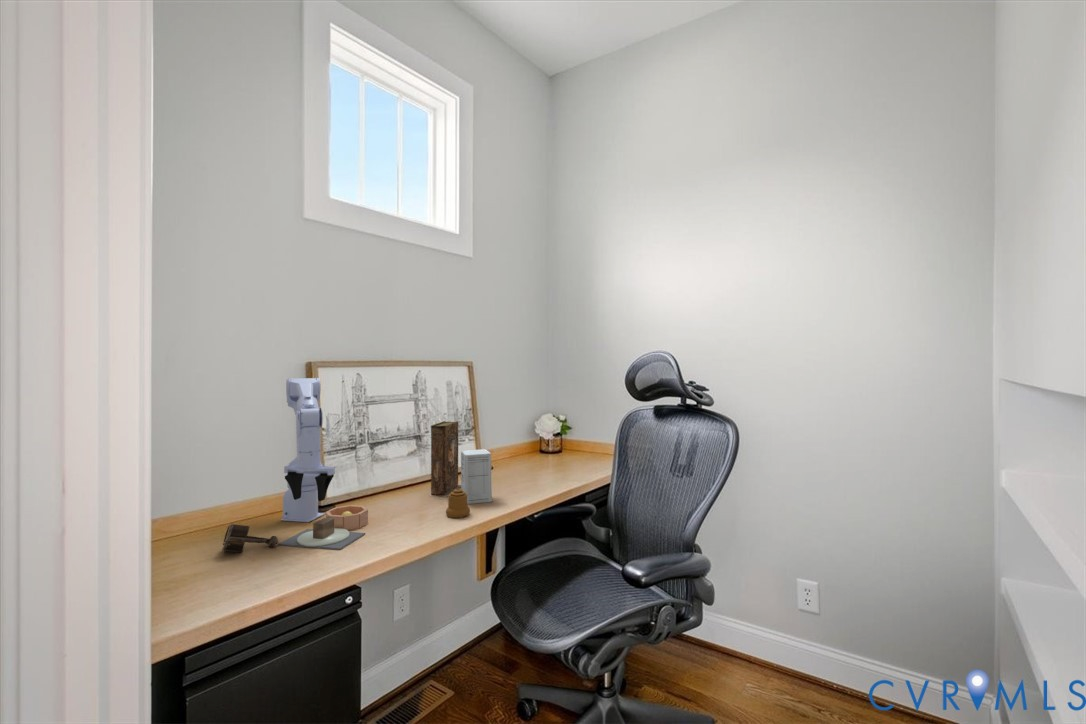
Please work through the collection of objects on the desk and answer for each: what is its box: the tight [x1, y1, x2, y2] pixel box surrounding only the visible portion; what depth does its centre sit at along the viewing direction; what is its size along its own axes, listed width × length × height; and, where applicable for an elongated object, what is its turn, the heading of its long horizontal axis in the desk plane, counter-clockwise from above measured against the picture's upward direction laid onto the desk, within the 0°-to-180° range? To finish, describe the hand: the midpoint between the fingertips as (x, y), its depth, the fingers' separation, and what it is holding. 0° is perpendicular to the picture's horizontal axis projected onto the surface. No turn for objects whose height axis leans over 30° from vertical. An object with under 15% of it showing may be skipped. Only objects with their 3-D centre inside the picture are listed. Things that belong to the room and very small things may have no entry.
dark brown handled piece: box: [221, 523, 279, 553], centre depth 129 cm, size 7×13×10 cm
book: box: [430, 420, 459, 496], centre depth 191 cm, size 16×6×25 cm, turn 172°
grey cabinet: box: [460, 448, 493, 505], centre depth 177 cm, size 10×9×17 cm
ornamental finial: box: [445, 488, 471, 519], centre depth 159 cm, size 8×8×8 cm
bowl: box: [325, 504, 369, 531], centre depth 150 cm, size 11×11×4 cm
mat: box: [277, 528, 366, 551], centre depth 137 cm, size 18×12×1 cm, turn 79°
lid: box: [297, 517, 350, 547], centre depth 137 cm, size 13×13×5 cm
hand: (309, 499), depth 142 cm, fingers open, 7 cm apart
